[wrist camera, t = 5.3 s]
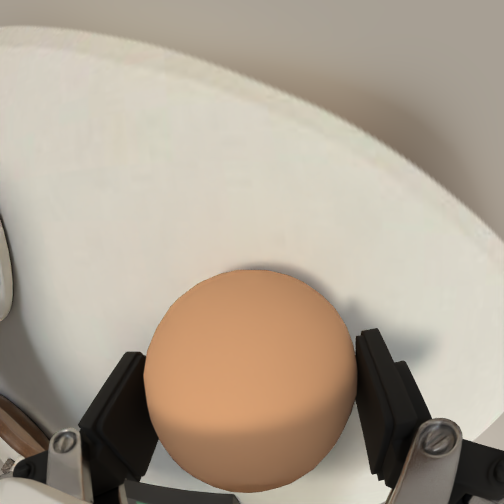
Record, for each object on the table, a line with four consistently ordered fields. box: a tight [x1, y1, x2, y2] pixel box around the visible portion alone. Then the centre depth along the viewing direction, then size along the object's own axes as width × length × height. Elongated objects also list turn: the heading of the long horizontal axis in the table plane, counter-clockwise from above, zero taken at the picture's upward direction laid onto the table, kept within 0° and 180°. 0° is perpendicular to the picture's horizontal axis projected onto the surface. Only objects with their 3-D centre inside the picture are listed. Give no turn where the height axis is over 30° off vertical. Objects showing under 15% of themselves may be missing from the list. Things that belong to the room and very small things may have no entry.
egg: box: [143, 270, 358, 493], centre depth 10 cm, size 7×7×8 cm
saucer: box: [0, 395, 50, 458], centre depth 21 cm, size 15×15×3 cm
